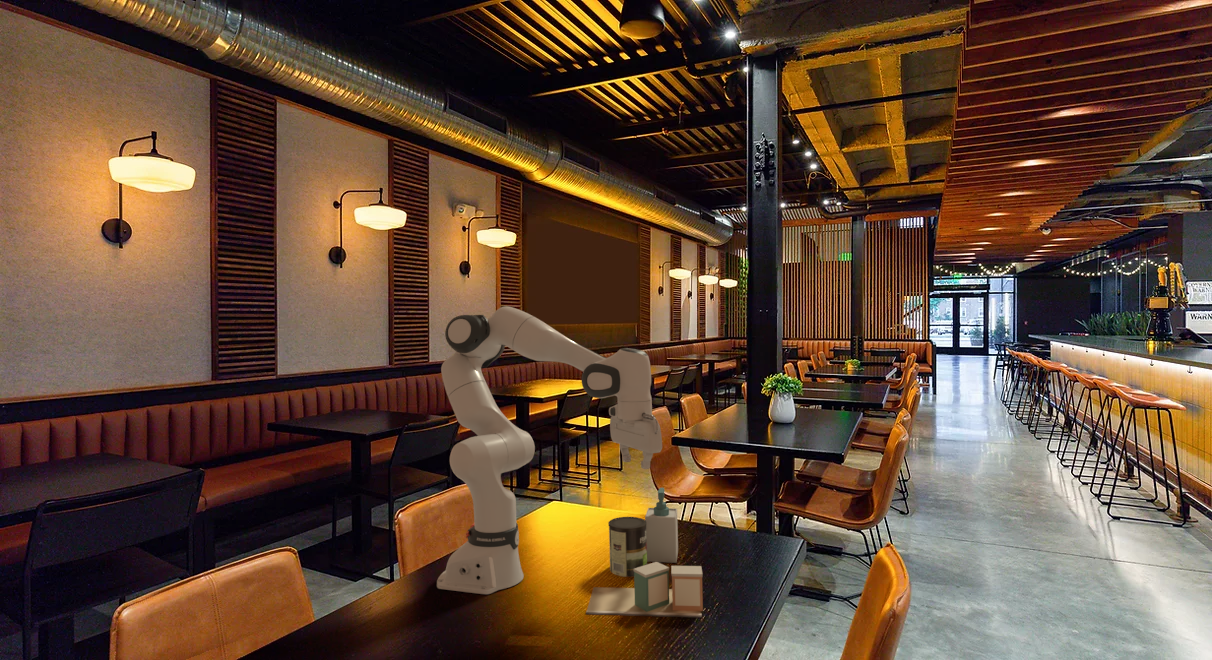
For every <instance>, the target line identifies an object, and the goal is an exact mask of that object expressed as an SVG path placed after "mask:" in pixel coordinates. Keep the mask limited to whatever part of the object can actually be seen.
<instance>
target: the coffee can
mask: <svg viewBox="0 0 1212 660" xmlns="http://www.w3.org/2000/svg"><path fill="white" fill-rule="evenodd" d="M646 525H647V522H646V521H645V518H640V517H638V516H637V517H636V516H620V517H615V518H612V519H610V520H609V521H608V530H609V531H608V532H609V533H608V536H609V537H608V539H609V570H610V572H611V573H612V574H613V575H615V576H618V577H625V578H628V577H629V578H630V577H634V571H633V569H634V568H638V567H641V566H644V565H647V564H648V562H647V539H646Z"/></svg>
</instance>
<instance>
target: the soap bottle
mask: <svg viewBox="0 0 1212 660" xmlns="http://www.w3.org/2000/svg"><path fill="white" fill-rule="evenodd" d="M657 499H658V502H656V505H655V507H648V508H647V510H646V514H645V516H644V520H645V521H646V522H647V525H646V539H647V563H649V562H650V563H651V562H652V563H654V562H658V563H671V564H672V563H673V564H674V563H675V564H677V562H678V561H677V560H678V553H679V540H678V539H679V537H678V536H679V533H678V530H679V529H678V508H671V507H670V508H669V506H667V503H666V502H665V501H664V499H665V488H664V487H660V488H659V489H658V490H657Z"/></svg>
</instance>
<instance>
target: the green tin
mask: <svg viewBox="0 0 1212 660" xmlns="http://www.w3.org/2000/svg"><path fill="white" fill-rule="evenodd" d="M633 571H634V576H633V577H634V578H633V581H634V583H633V584H634V585H633V586H634V587H633V588H634V589H635V605H636V606H638V607H639V608H641V609H643V610H644V611H646V612H648V611H651V610H653V609H656V608H659V607H661V606H664V605H667V604H669V589H670V580H669V579H670V576H669V571H670V567H669V566H668V565H665V564H663V563H661V562H652V563H651V562H650V563H647V565H644V566H641V567H638V568H634V569H633Z"/></svg>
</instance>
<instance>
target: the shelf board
mask: <svg viewBox="0 0 1212 660" xmlns="http://www.w3.org/2000/svg"><path fill="white" fill-rule="evenodd" d="M585 615H599V616H604V615H605V616H631V617H632V616H634V617H636V616H637V617H638V616H639V617H666V618H667V617H668V618H669V617H670V618H671V617H672V618H673V617H675V618H678V617H679V618H703V615H702V611H679V610H673V599H672V588H669V604H667V605H664V606H661V607H659V608H656V609H653V610H651V611H648V612H646V611H644V610H643V609H641V608H639V607H638V606H636V605H635V589H634V587H602V586H601V587H598V586H597V587H593V588H592V593H591V596H590V599H589V603H588V605H587V610H586V611H585Z"/></svg>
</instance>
